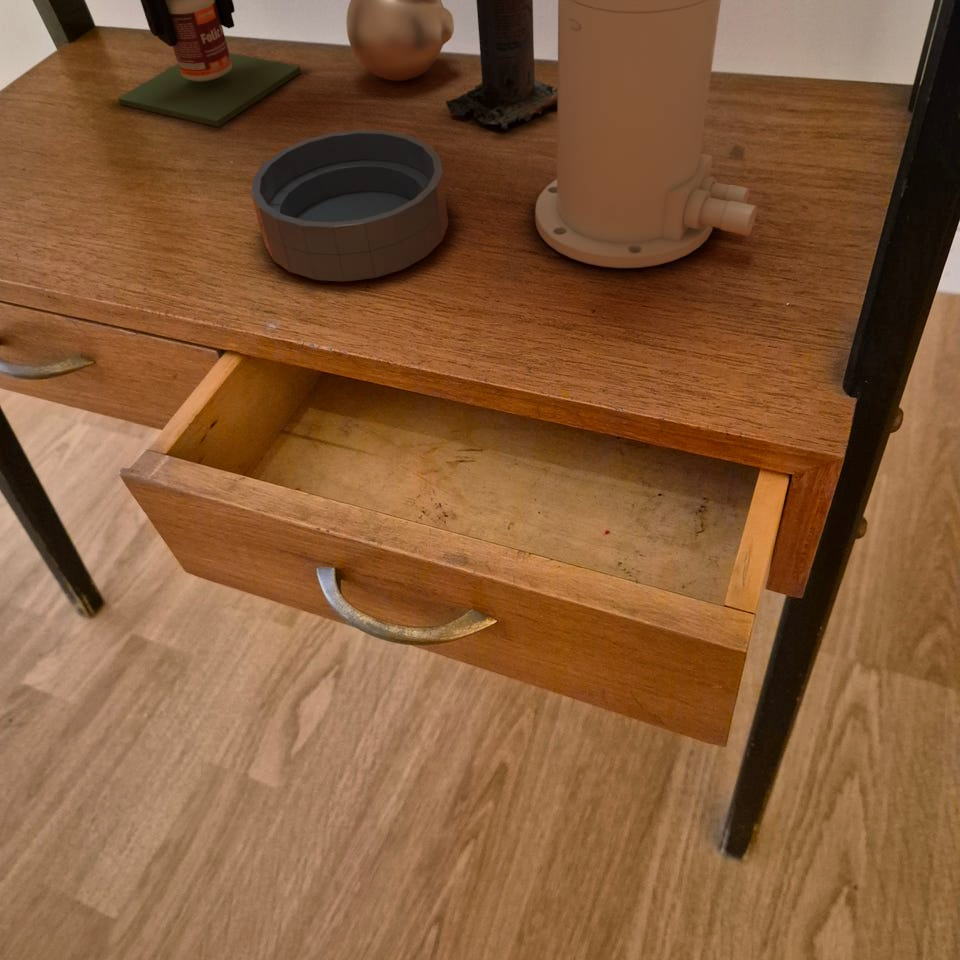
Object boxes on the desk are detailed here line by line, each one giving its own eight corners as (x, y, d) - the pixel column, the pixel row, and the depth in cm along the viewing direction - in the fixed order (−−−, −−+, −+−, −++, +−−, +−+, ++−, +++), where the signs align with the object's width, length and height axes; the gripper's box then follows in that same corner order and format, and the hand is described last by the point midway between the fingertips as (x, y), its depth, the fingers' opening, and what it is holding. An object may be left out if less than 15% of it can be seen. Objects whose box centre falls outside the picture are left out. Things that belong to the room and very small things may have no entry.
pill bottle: (221, 83, 79) (193, -18, 73) (173, 82, 80) (141, -19, 74) (241, 61, 82) (215, -38, 76) (194, 60, 83) (165, -38, 77)
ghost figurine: (436, 102, 77) (424, -22, 70) (339, 93, 80) (318, -28, 72) (469, 60, 83) (461, -59, 76) (378, 52, 85) (362, -63, 78)
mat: (301, 72, 83) (299, 66, 83) (218, 127, 77) (216, 120, 76) (205, 54, 88) (204, 48, 87) (119, 104, 81) (117, 98, 80)
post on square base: (511, 139, 72) (506, -21, 63) (442, 115, 76) (428, -39, 67) (577, 98, 76) (580, -57, 67) (508, 77, 80) (503, -72, 71)
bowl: (480, 206, 65) (476, 149, 62) (383, 304, 58) (373, 244, 54) (336, 172, 70) (325, 117, 67) (229, 257, 62) (211, 200, 59)
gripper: (25, -197, 60) (122, 74, 73) (248, -239, 66) (299, 17, 79) (-6, -210, 64) (90, 48, 77) (206, -249, 70) (261, -4, 84)
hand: (195, 30), depth 78 cm, fingers closed on pill bottle, 4 cm apart
